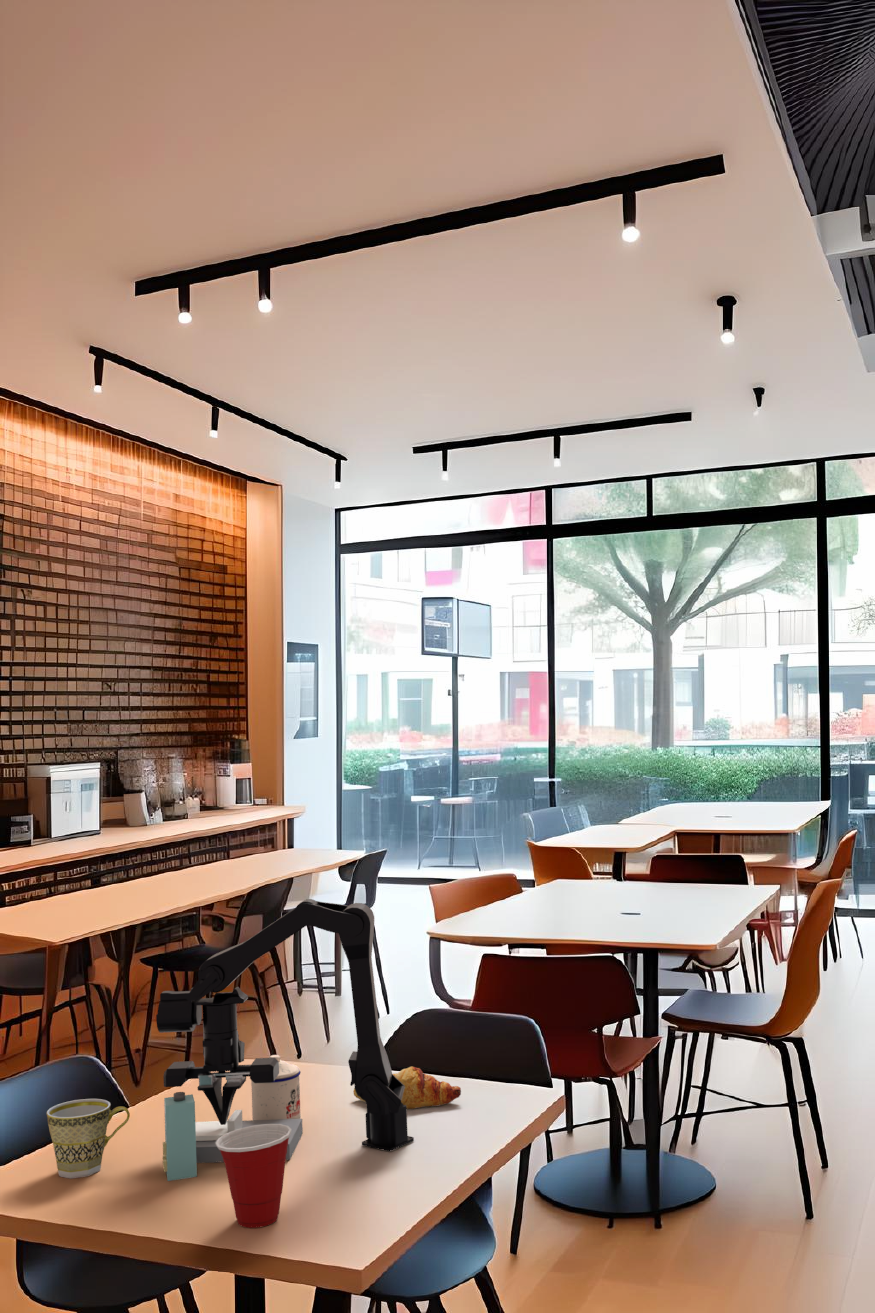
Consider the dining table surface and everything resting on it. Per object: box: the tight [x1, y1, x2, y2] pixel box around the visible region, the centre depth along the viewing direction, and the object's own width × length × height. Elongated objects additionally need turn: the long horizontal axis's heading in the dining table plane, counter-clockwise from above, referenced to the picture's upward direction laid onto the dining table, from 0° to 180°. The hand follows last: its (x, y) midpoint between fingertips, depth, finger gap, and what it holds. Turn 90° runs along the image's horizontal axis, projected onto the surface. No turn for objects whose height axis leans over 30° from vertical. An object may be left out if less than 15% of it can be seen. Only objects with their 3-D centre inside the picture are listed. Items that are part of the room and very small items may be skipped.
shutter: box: [195, 1109, 243, 1141], centre depth 193 cm, size 8×8×3 cm
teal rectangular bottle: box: [162, 1091, 198, 1182], centre depth 182 cm, size 5×4×12 cm
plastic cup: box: [216, 1124, 292, 1229], centre depth 162 cm, size 11×11×12 cm
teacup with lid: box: [250, 1054, 302, 1120], centre depth 207 cm, size 12×9×12 cm
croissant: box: [353, 1066, 462, 1110], centre depth 214 cm, size 21×10×8 cm, turn 76°
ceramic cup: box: [46, 1098, 130, 1179], centre depth 186 cm, size 13×10×10 cm
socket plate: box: [196, 1118, 304, 1164], centre depth 192 cm, size 19×13×2 cm
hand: (223, 1124), depth 193 cm, fingers closed
